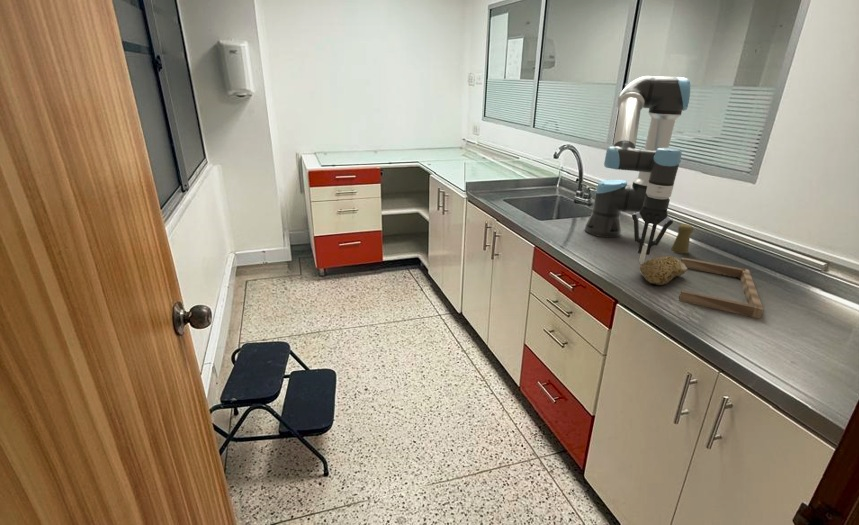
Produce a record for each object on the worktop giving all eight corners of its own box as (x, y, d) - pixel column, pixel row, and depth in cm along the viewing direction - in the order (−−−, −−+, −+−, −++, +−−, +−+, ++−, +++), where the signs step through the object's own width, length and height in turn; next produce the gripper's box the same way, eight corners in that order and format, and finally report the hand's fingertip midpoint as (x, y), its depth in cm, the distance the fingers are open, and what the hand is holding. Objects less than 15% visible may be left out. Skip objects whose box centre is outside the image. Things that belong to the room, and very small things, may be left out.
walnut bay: (679, 264, 164) (681, 257, 163) (745, 277, 155) (748, 269, 154) (679, 300, 136) (681, 291, 135) (760, 318, 127) (763, 309, 126)
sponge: (658, 270, 161) (623, 267, 152) (670, 252, 158) (635, 248, 148) (688, 291, 152) (653, 289, 142) (701, 272, 148) (666, 269, 138)
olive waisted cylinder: (684, 254, 174) (692, 228, 170) (668, 250, 178) (675, 224, 174) (690, 251, 178) (697, 225, 173) (674, 247, 182) (681, 221, 177)
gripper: (635, 195, 144) (620, 261, 153) (679, 202, 139) (661, 270, 148) (637, 191, 150) (622, 255, 160) (679, 197, 145) (662, 262, 154)
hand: (641, 262), depth 154 cm, fingers closed
